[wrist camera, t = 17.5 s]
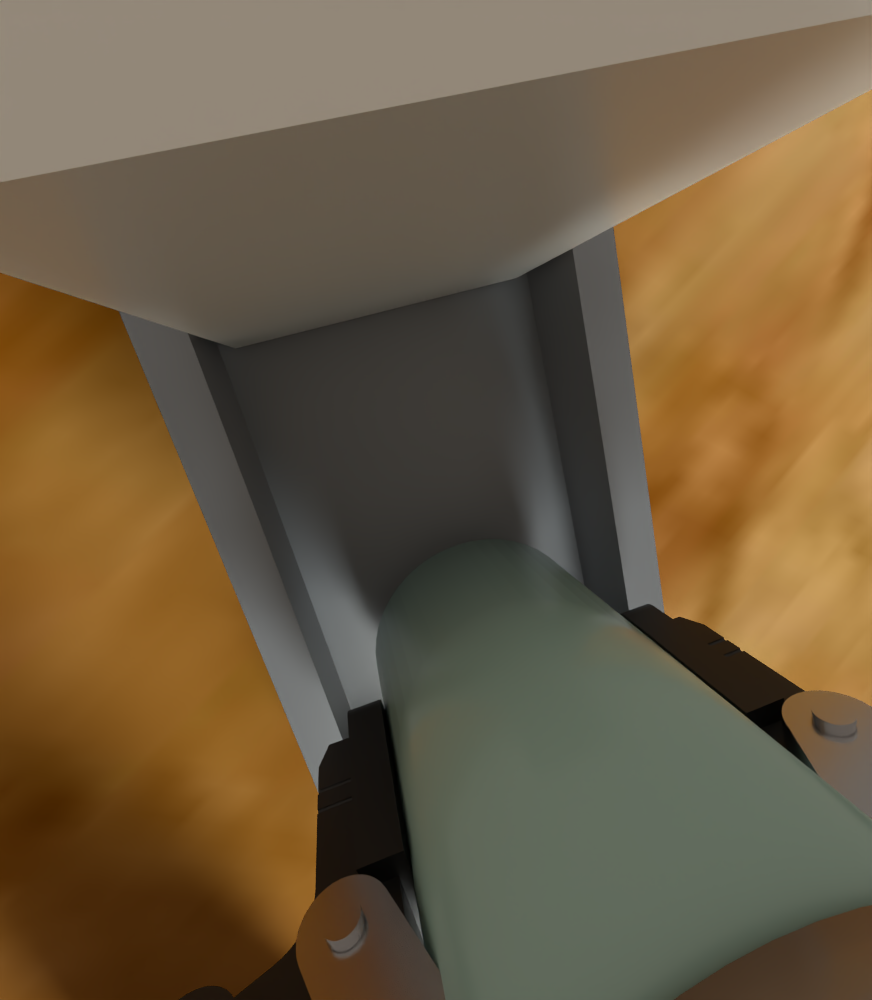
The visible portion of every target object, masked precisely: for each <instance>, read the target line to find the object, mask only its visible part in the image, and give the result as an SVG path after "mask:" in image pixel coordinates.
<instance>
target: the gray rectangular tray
mask: <svg viewBox="0 0 872 1000" xmlns="http://www.w3.org/2000/svg"><path fill="white" fill-rule="evenodd" d="M119 313H120V315H121V318H122V320H123V322H124V325H125V327H126V330H127V332H128V334H129V337H130V339H131V342H132V344H133V346H134V349H135V351H136V354H137V356H138V359H139V361H140V363H141V366H142V368H143V371H144V373H145V375H146V378H147V380H148V383H149V385H150V387H151V390H152V392H153V395H154V397H155V400H156V402H157V404H158V407H159V409H160V412H161V414H162V416H163V419H164V421H165V424H166V426H167V428H168V431H169V433H170V436H171V438H172V441H173V443H174V445H175V448H176V450H177V453H178V455H179V457H180V460H181V462H182V465H183V467H184V469H185V472H186V474H187V477H188V479H189V482H190V484H191V486H192V489H193V491H194V494H195V496H196V498H197V501H198V503H199V506H200V508H201V510H202V513H203V515H204V518H205V520H206V522H207V525H208V527H209V530H210V532H211V535H212V537H213V539H214V542H215V544H216V547H217V549H218V551H219V554H220V556H221V559H222V561H223V563H224V566H225V568H226V571H227V573H228V576H229V578H230V580H231V583H232V585H233V588H234V590H235V592H236V595H237V597H238V600H239V602H240V604H241V607H242V609H243V612H244V614H245V617H246V619H247V621H248V624H249V626H250V629H251V631H252V633H253V636H254V638H255V641H256V643H257V645H258V648H259V650H260V653H261V655H262V658H263V660H264V662H265V665H266V667H267V670H268V672H269V674H270V677H271V679H272V682H273V684H274V686H275V689H276V691H277V694H278V696H279V699H280V701H281V703H282V706H283V708H284V711H285V713H286V715H287V718H288V720H289V723H290V725H291V727H292V730H293V732H294V735H295V737H296V740H297V742H298V744H299V747H300V749H301V752H302V754H303V756H304V759H305V761H306V764H307V766H308V768H309V771H310V773H311V776H312V778H313V781H314V783H315V785H316V788H317V790H318V772H319V766H320V763H321V761H322V759H323V757H324V755H325V752H326V750H327V748H328V746H329V745H330V744H333V743H335V742H338V741H341V740H343V739H346V738H349V735H348V718H347V713H348V711H349V710H352V709H355V708H357V707H360V706H363V705H366V704H368V703H371V702H374V701H377V700H379V699H381V701H382V703H383V699H382V693H381V687H380V681H379V675H378V669H377V662H376V637H377V632H378V627H379V623H380V620H381V617H382V615H383V612H384V610H385V608H386V606H387V604H388V602H389V600H390V598H391V597H392V595H393V594H394V592H395V591H396V589H397V588H398V586H399V585H400V584H401V583H402V582H403V581H404V579H405V578H406V577H407V576H408V575H409V574H410V573H411V572H412V571H413V570H415V569H416V568H417V567H418V566H419V565H420V564H422V563H423V562H425V561H426V560H428V559H429V558H430V557H432V556H434V555H436V554H438V553H439V552H441V551H443V550H445V549H448V548H450V547H453V546H456V545H458V544H462V543H466V542H470V541H475V540H483V539H503V540H510V541H516V542H519V543H523V544H526V545H529V546H531V547H533V548H535V549H537V550H539V551H541V552H542V553H544V554H546V555H547V556H549V557H550V558H551V559H552V560H554V561H555V562H556V563H557V564H559V565H560V566H561V567H562V568H564V569H565V570H566V571H567V572H568V573H570V574H571V575H572V576H573V577H575V578H576V579H577V580H578V581H580V582H581V583H582V584H583V585H584V586H586V587H587V588H588V589H589V590H591V591H592V592H593V593H594V594H596V595H597V596H598V597H599V598H600V599H602V600H603V601H604V602H605V603H607V604H608V605H609V606H610V607H612V608H613V609H614V610H615V611H616V612H618V613H619V614H620V613H623V612H626V611H629V610H632V609H634V608H637V607H640V606H643V605H646V604H651V605H653V606H655V607H656V608H657V609H659V610H660V611H662V612H663V613H664V607H663V599H662V592H661V584H660V577H659V569H658V561H657V554H656V546H655V539H654V531H653V524H652V516H651V509H650V501H649V494H648V486H647V479H646V471H645V463H644V456H643V448H642V441H641V433H640V426H639V418H638V411H637V403H636V396H635V388H634V380H633V373H632V365H631V358H630V350H629V343H628V335H627V328H626V320H625V313H624V305H623V298H622V290H621V282H620V275H619V267H618V260H617V252H616V245H615V237H614V230H613V227H612V228H610V229H608V230H606V231H604V232H602V233H600V234H598V235H597V236H595V237H593V238H591V239H589V240H587V241H585V242H583V243H581V244H580V245H578V246H576V247H574V248H572V249H570V250H568V251H566V252H565V253H563V254H561V255H559V256H557V257H555V258H553V259H551V260H549V261H548V262H546V263H544V264H542V265H540V266H538V267H536V268H534V269H533V270H531V271H529V272H527V273H525V274H523V275H521V276H519V277H517V278H515V279H511V280H507V281H503V282H499V283H495V284H491V285H487V286H483V287H479V288H475V289H471V290H467V291H463V292H459V293H455V294H451V295H447V296H443V297H439V298H435V299H431V300H427V301H423V302H419V303H415V304H411V305H407V306H403V307H399V308H395V309H391V310H387V311H383V312H379V313H375V314H371V315H367V316H363V317H359V318H355V319H351V320H347V321H343V322H339V323H335V324H331V325H327V326H323V327H319V328H315V329H311V330H307V331H303V332H299V333H295V334H291V335H287V336H283V337H279V338H275V339H271V340H267V341H263V342H259V343H255V344H251V345H247V346H243V347H239V348H232V347H229V346H226V345H223V344H220V343H217V342H214V341H211V340H208V339H204V338H201V337H198V336H195V335H192V334H189V333H186V332H183V331H180V330H177V329H173V328H170V327H167V326H164V325H161V324H158V323H155V322H152V321H149V320H146V319H142V318H139V317H136V316H133V315H130V314H127V313H124V312H121V311H119ZM383 706H384V705H383ZM318 793H319V792H318Z"/></svg>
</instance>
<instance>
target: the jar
mask: <svg viewBox="0 0 872 1000" xmlns="http://www.w3.org/2000/svg"><path fill="white" fill-rule="evenodd" d="M376 662H377V669H378V675H379V681H380V687H381V693H382V699H383V705H384V708H385V713H386V719H387V725H388V731H389V737H390V743H391V749H392V755H393V760H394V766H395V772H396V778H397V784H398V790H399V796H400V802H401V807H402V813H403V819H404V825H405V831H406V837H407V843H408V849H409V854H410V860H411V866H412V872H413V879H414V889H415V895H416V901H417V907H418V913H419V919H420V925H421V930H422V936H423V942H424V948H425V949H426V951H427V952H428V954H429V955H430V957H431V958H432V960H433V961H434V963H435V965H436V966H437V968H438V969H439V971H440V973H441V978H442V984H443V989H444V994H445V1000H872V819H871V818H870V817H869V816H868V815H866V814H865V813H864V812H863V811H861V810H860V809H859V808H858V807H856V806H855V805H854V804H853V803H852V802H850V801H849V800H848V799H847V798H845V797H844V796H843V795H842V794H840V793H839V792H838V791H837V790H836V789H834V788H833V787H832V786H831V785H829V784H828V783H827V782H826V781H824V780H823V779H822V778H821V777H820V776H818V775H817V774H816V773H815V772H813V771H812V770H811V769H810V768H808V767H807V766H806V765H805V764H804V763H802V762H801V761H800V760H799V759H797V758H796V757H795V756H794V755H792V754H791V753H790V752H789V751H788V750H786V749H785V748H784V747H783V746H781V745H780V744H779V743H778V742H776V741H775V740H774V739H773V738H772V737H770V736H769V735H768V734H767V733H765V732H764V731H763V730H762V729H760V728H759V727H758V726H757V725H756V724H754V723H753V722H752V721H751V720H749V719H748V718H747V717H746V716H744V715H743V714H742V713H741V712H740V711H738V710H737V709H736V708H735V707H733V706H732V705H731V704H730V703H728V702H727V701H726V700H725V699H724V698H722V697H721V696H720V695H719V694H717V693H716V692H715V691H714V690H712V689H711V688H710V687H709V686H708V685H706V684H705V683H704V682H703V681H701V680H700V679H699V678H698V677H696V676H695V675H694V674H693V673H692V672H690V671H689V670H688V669H687V668H685V667H684V666H683V665H682V664H680V663H679V662H678V661H677V660H676V659H674V658H673V657H672V656H671V655H669V654H668V653H667V652H666V651H664V650H663V649H662V648H661V647H660V646H658V645H657V644H656V643H655V642H653V641H652V640H651V639H650V638H648V637H647V636H646V635H645V634H644V633H642V632H641V631H640V630H639V629H637V628H636V627H635V626H634V625H632V624H631V623H630V622H629V621H628V620H626V619H625V618H624V617H623V616H621V615H620V614H619V613H618V612H616V611H615V610H614V609H613V608H612V607H610V606H609V605H608V604H607V603H605V602H604V601H603V600H602V599H600V598H599V597H598V596H597V595H596V594H594V593H593V592H592V591H591V590H589V589H588V588H587V587H586V586H584V585H583V584H582V583H581V582H580V581H578V580H577V579H576V578H575V577H573V576H572V575H571V574H570V573H568V572H567V571H566V570H565V569H564V568H562V567H561V566H560V565H559V564H557V563H556V562H555V561H554V560H552V559H551V558H550V557H549V556H547V555H546V554H544V553H542V552H541V551H539V550H537V549H535V548H533V547H531V546H529V545H526V544H523V543H519V542H516V541H510V540H503V539H483V540H475V541H470V542H466V543H462V544H458V545H456V546H453V547H450V548H448V549H445V550H443V551H441V552H439V553H438V554H436V555H434V556H432V557H430V558H429V559H428V560H426V561H425V562H423V563H422V564H420V565H419V566H418V567H417V568H416V569H415V570H413V571H412V572H411V573H410V574H409V575H408V576H407V577H406V578H405V579H404V581H403V582H402V583H401V584H400V585H399V586H398V588H397V589H396V591H395V592H394V594H393V595H392V597H391V598H390V600H389V602H388V604H387V606H386V608H385V610H384V612H383V615H382V617H381V620H380V623H379V627H378V632H377V637H376Z"/></svg>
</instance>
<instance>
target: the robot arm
mask: <svg viewBox="0 0 872 1000" xmlns="http://www.w3.org/2000/svg"><path fill="white" fill-rule="evenodd" d="M620 615H621V616H623V617H624V618H625V619H626V620H628V621H629V622H630V623H631V624H632V625H634V626H635V627H636V628H637V629H639V630H640V631H641V632H642V633H644V634H645V635H646V636H647V637H648V638H650V639H651V640H652V641H653V642H655V643H656V644H657V645H658V646H660V647H661V648H662V649H663V650H664V651H666V652H667V653H668V654H669V655H671V656H672V657H673V658H674V659H676V660H677V661H678V662H679V663H680V664H682V665H683V666H684V667H685V668H687V669H688V670H689V671H690V672H692V673H693V674H694V675H695V676H696V677H698V678H699V679H700V680H701V681H703V682H704V683H705V684H706V685H708V686H709V687H710V688H711V689H712V690H714V691H715V692H716V693H717V694H719V695H720V696H721V697H722V698H724V699H725V700H726V701H727V702H728V703H730V704H731V705H732V706H733V707H735V708H736V709H737V710H738V711H740V712H741V713H742V714H743V715H744V716H746V717H747V718H748V719H749V720H751V721H752V722H753V723H754V724H756V725H757V726H758V727H759V728H760V729H762V730H763V731H764V732H765V733H767V734H768V735H769V736H770V737H772V738H773V739H774V740H775V741H776V742H778V743H779V744H780V745H781V746H783V747H784V748H785V749H786V750H788V751H789V752H790V753H791V754H792V755H794V756H795V757H796V758H797V759H799V760H800V761H801V762H802V763H804V764H805V765H806V766H807V767H808V768H810V769H811V770H812V771H813V772H815V773H816V774H817V775H818V776H820V777H821V778H822V779H823V780H824V781H826V782H827V783H828V784H829V785H831V786H832V787H833V788H834V789H836V790H837V791H838V792H839V793H840V794H842V795H843V796H844V797H845V798H847V799H848V800H849V801H850V802H852V803H853V804H854V805H855V806H856V807H858V808H859V809H860V810H861V811H863V812H864V813H865V814H866V815H868V816H869V817H870V818H871V819H872V707H871V706H869V705H867V704H866V703H864V702H862V701H860V700H857V699H855V698H852V697H850V696H847V695H843V694H840V693H835V692H829V691H804V690H802V689H801V688H799V687H798V686H796V685H795V684H793V683H792V682H790V681H789V680H787V679H786V678H784V677H783V676H781V675H780V674H778V673H777V672H775V671H774V670H772V669H771V668H769V667H768V666H766V665H765V664H763V663H761V662H760V661H758V660H757V659H755V658H754V657H752V656H751V655H749V654H748V653H746V652H745V651H743V652H742V651H741V650H740V648H739V647H737V646H736V645H734V644H733V643H731V642H730V641H728V640H726V641H725V640H724V637H722V636H720V635H719V634H717V633H716V632H714V631H713V630H711V629H710V628H708V627H707V626H705V625H703V624H700V623H697V622H694V621H691V620H688V619H685V618H682V617H678V618H675V619H672V618H670V617H669V616H667V615H666V614H664V613H663V612H662V611H660V610H659V609H657V608H656V607H655V606H653V605H651V604H646V605H643V606H640V607H637V608H634V609H632V610H629V611H626V612H623V613H620ZM347 718H348V735H349V738H346V739H343V740H341V741H338V742H335V743H333V744H330V745H329V746H328V748H327V750H326V752H325V755H324V757H323V759H322V761H321V763H320V766H319V772H318V792H319V795H318V814H317V854H316V891H315V900H314V901H313V903H312V904H311V906H310V907H309V909H308V910H307V912H306V914H305V916H304V918H303V920H302V922H301V925H300V928H299V931H298V936H297V941H296V942H295V944H294V945H293V946H292V948H291V949H290V950H289V951H288V952H287V953H286V954H285V955H284V957H283V958H282V959H280V960H279V961H278V962H277V963H276V964H275V965H274V966H273V967H271V968H270V969H269V970H268V971H266V972H265V973H264V974H263V975H262V976H260V977H259V978H258V979H257V980H255V981H254V982H253V983H252V984H250V985H249V986H248V987H247V988H245V989H244V990H243V991H242V992H241V993H239V994H238V995H237V996H236V997H233V996H232V994H231V993H230V992H228V991H227V990H226V989H224V988H222V987H218V986H207V987H202V988H199V989H196V990H194V991H192V992H190V993H188V994H186V995H185V996H183V997H182V998H180V999H179V1000H445V994H444V989H443V984H442V978H441V973H440V971H439V969H438V968H437V966H436V965H435V963H434V961H433V960H432V958H431V957H430V955H429V954H428V952H427V951H426V949H425V948H424V942H423V936H422V930H421V925H420V919H419V913H418V907H417V901H416V895H415V889H414V879H413V872H412V866H411V860H410V854H409V849H408V843H407V837H406V831H405V825H404V819H403V813H402V807H401V802H400V796H399V790H398V784H397V778H396V772H395V766H394V760H393V755H392V749H391V743H390V737H389V731H388V725H387V719H386V713H385V708H384V706H383V703H382V701H381V699H379V700H377V701H374V702H371V703H368V704H366V705H363V706H360V707H357V708H355V709H352V710H349V711H348V713H347Z"/></svg>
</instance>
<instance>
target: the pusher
mask: <svg viewBox="0 0 872 1000" xmlns="http://www.w3.org/2000/svg"><path fill="white" fill-rule="evenodd" d="M871 89H872V0H0V273H3V274H6V275H9V276H12V277H15V278H19V279H22V280H25V281H28V282H31V283H34V284H37V285H40V286H43V287H46V288H50V289H53V290H56V291H59V292H62V293H65V294H68V295H71V296H74V297H77V298H81V299H84V300H87V301H90V302H93V303H96V304H99V305H102V306H105V307H108V308H112V309H115V310H118V311H121V312H124V313H127V314H130V315H133V316H136V317H139V318H142V319H146V320H149V321H152V322H155V323H158V324H161V325H164V326H167V327H170V328H173V329H177V330H180V331H183V332H186V333H189V334H192V335H195V336H198V337H201V338H204V339H208V340H211V341H214V342H217V343H220V344H223V345H226V346H229V347H232V348H239V347H243V346H247V345H251V344H255V343H259V342H263V341H267V340H271V339H275V338H279V337H283V336H287V335H291V334H295V333H299V332H303V331H307V330H311V329H315V328H319V327H323V326H327V325H331V324H335V323H339V322H343V321H347V320H351V319H355V318H359V317H363V316H367V315H371V314H375V313H379V312H383V311H387V310H391V309H395V308H399V307H403V306H407V305H411V304H415V303H419V302H423V301H427V300H431V299H435V298H439V297H443V296H447V295H451V294H455V293H459V292H463V291H467V290H471V289H475V288H479V287H483V286H487V285H491V284H495V283H499V282H503V281H507V280H511V279H515V278H517V277H519V276H521V275H523V274H525V273H527V272H529V271H531V270H533V269H534V268H536V267H538V266H540V265H542V264H544V263H546V262H548V261H549V260H551V259H553V258H555V257H557V256H559V255H561V254H563V253H565V252H566V251H568V250H570V249H572V248H574V247H576V246H578V245H580V244H581V243H583V242H585V241H587V240H589V239H591V238H593V237H595V236H597V235H598V234H600V233H602V232H604V231H606V230H608V229H610V228H612V227H613V226H615V225H617V224H619V223H621V222H623V221H625V220H627V219H629V218H630V217H632V216H634V215H636V214H638V213H640V212H642V211H644V210H645V209H647V208H649V207H651V206H653V205H655V204H657V203H659V202H661V201H662V200H664V199H666V198H668V197H670V196H672V195H674V194H676V193H677V192H679V191H681V190H683V189H685V188H687V187H689V186H691V185H693V184H694V183H696V182H698V181H700V180H702V179H704V178H706V177H708V176H709V175H711V174H713V173H715V172H717V171H719V170H721V169H723V168H725V167H726V166H728V165H730V164H732V163H734V162H736V161H738V160H740V159H741V158H743V157H745V156H747V155H749V154H751V153H753V152H755V151H757V150H758V149H760V148H762V147H764V146H766V145H768V144H770V143H772V142H773V141H775V140H777V139H779V138H781V137H783V136H785V135H787V134H789V133H790V132H792V131H794V130H796V129H798V128H800V127H802V126H804V125H805V124H807V123H809V122H811V121H813V120H815V119H817V118H819V117H821V116H822V115H824V114H826V113H828V112H830V111H832V110H834V109H836V108H837V107H839V106H841V105H843V104H845V103H847V102H849V101H851V100H853V99H854V98H856V97H858V96H860V95H862V94H864V93H866V92H868V91H869V90H871Z"/></svg>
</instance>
